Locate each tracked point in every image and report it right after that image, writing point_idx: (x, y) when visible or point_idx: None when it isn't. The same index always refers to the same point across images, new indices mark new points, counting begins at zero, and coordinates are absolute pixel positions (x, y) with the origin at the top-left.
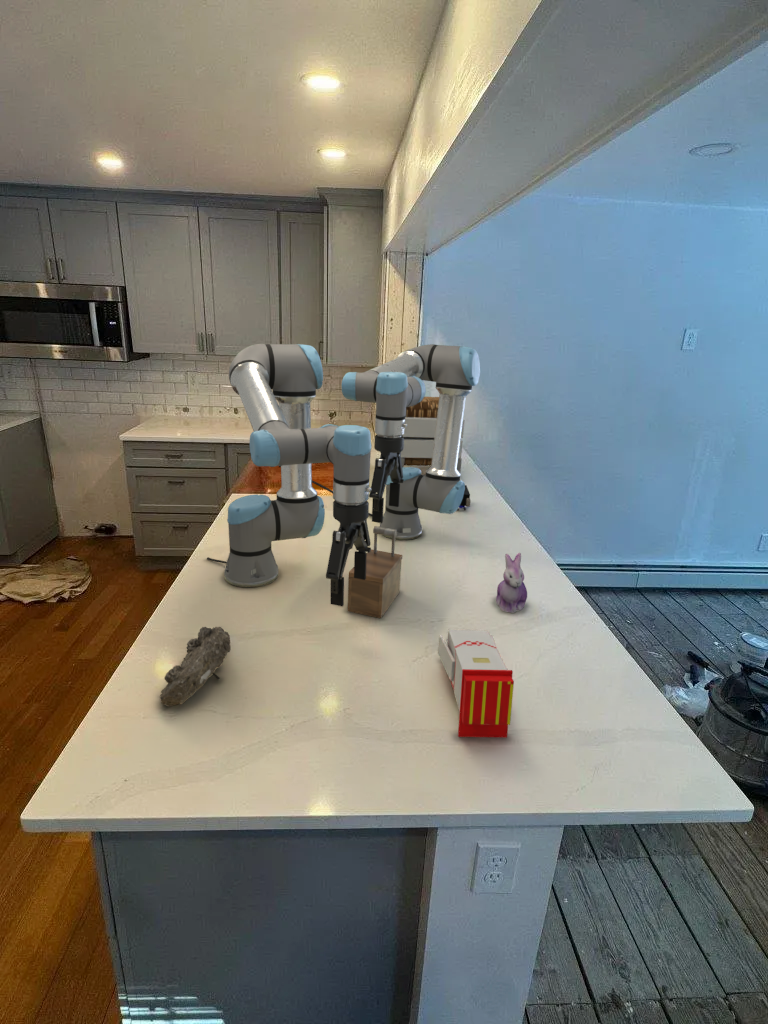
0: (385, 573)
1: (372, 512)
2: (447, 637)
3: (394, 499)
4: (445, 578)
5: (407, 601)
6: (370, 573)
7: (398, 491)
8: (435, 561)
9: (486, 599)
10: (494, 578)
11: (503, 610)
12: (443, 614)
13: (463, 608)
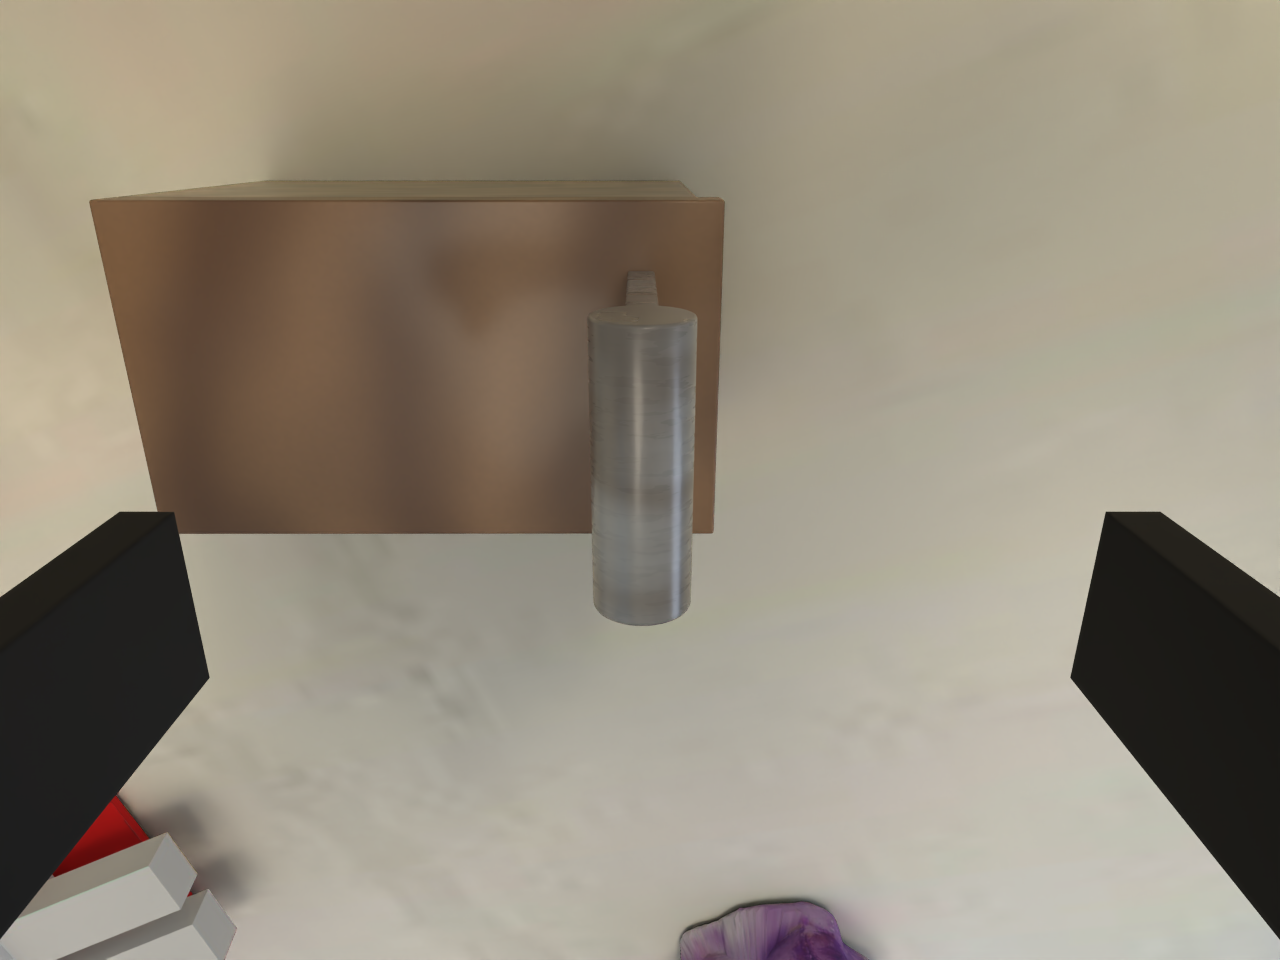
0: (269, 519)
1: (2, 604)
2: (161, 840)
3: (1160, 693)
4: (979, 626)
5: None
6: (191, 404)
7: (1278, 923)
8: (1242, 511)
9: (784, 856)
10: (1060, 857)
11: (681, 942)
12: (525, 707)
13: (636, 779)
